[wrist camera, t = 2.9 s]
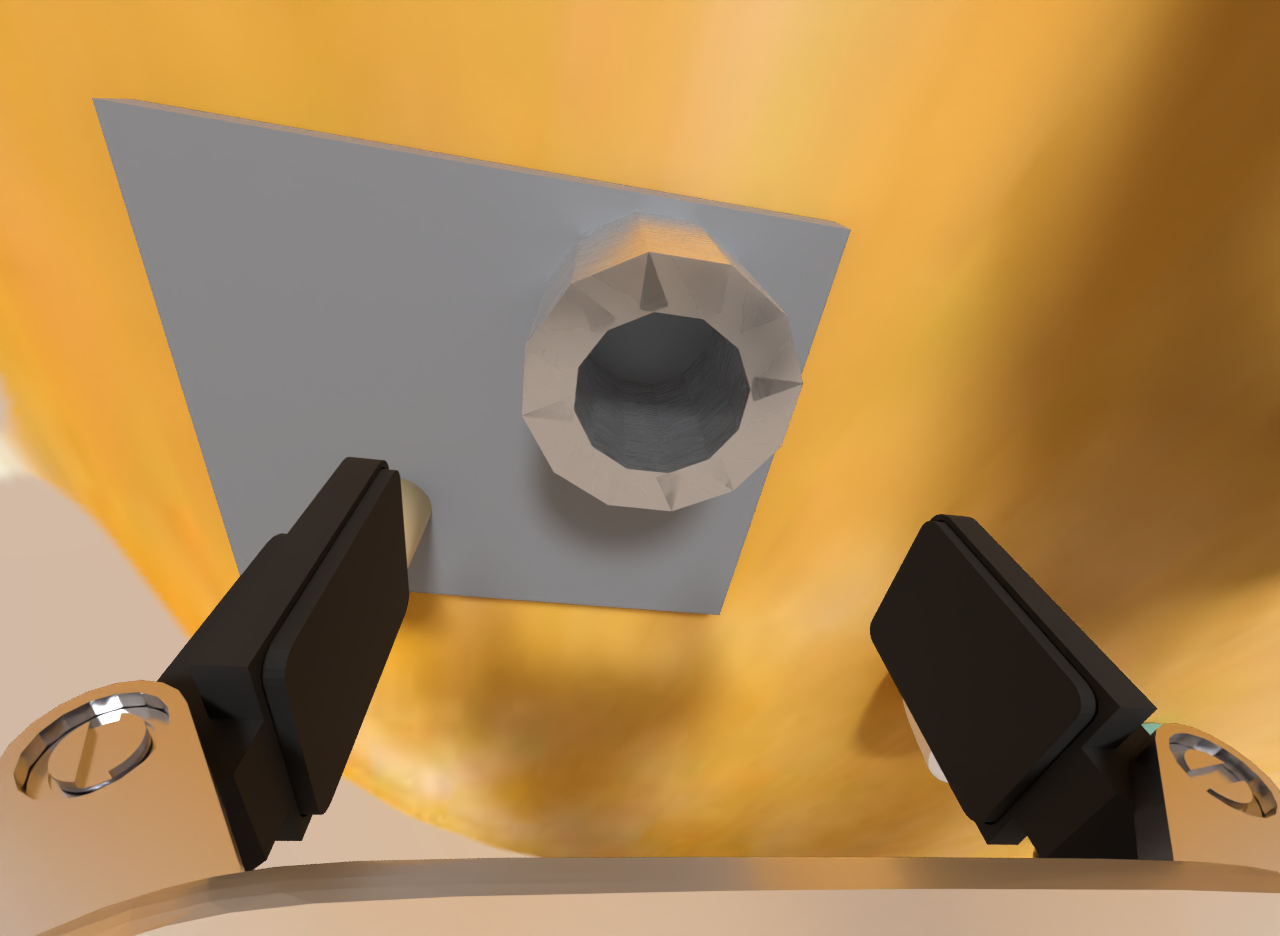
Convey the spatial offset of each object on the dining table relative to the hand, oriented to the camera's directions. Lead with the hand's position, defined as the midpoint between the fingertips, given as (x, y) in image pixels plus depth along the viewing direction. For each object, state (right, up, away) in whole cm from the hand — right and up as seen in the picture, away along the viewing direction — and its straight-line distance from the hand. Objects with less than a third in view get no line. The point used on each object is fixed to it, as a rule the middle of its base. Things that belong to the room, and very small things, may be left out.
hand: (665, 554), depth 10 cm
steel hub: (0, +7, +9) cm, 11 cm away
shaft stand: (-6, +4, +12) cm, 14 cm away
